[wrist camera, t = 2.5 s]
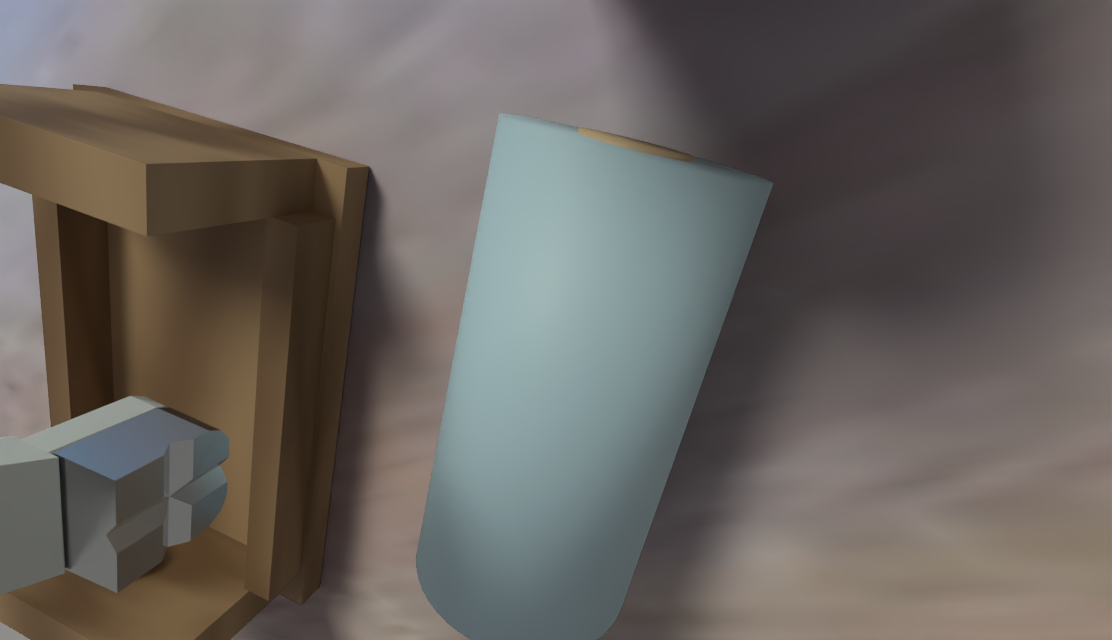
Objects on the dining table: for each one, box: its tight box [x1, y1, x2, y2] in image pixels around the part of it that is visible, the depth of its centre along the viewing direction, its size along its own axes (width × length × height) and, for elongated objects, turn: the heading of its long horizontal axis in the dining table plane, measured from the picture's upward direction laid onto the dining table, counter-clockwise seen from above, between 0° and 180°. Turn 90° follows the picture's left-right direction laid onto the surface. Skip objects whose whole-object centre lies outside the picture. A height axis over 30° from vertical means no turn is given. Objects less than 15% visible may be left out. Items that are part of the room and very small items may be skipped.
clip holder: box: [0, 84, 369, 640], centre depth 18 cm, size 10×16×6 cm, turn 166°
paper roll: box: [416, 114, 773, 640], centre depth 14 cm, size 6×11×6 cm, turn 166°
